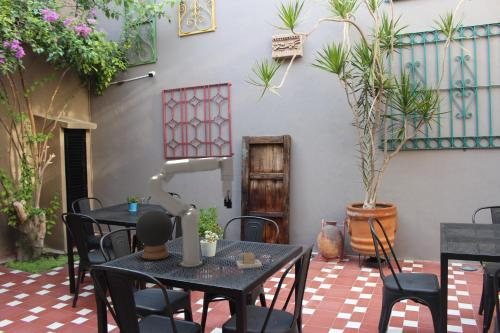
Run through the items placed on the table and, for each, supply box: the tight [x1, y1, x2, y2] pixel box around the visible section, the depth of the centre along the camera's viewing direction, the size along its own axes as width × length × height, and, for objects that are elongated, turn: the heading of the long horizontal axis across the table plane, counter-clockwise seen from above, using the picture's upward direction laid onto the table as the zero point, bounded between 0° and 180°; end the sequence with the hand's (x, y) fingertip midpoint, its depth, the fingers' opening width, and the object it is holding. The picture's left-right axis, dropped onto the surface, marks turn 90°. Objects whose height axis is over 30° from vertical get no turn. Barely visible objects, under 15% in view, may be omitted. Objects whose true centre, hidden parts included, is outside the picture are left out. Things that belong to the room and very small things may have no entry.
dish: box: [235, 259, 263, 270], centre depth 255 cm, size 10×13×2 cm
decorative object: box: [135, 209, 174, 261], centre depth 282 cm, size 23×23×30 cm
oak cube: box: [242, 252, 256, 264], centre depth 255 cm, size 6×6×6 cm
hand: (228, 207), depth 260 cm, fingers open, 9 cm apart
